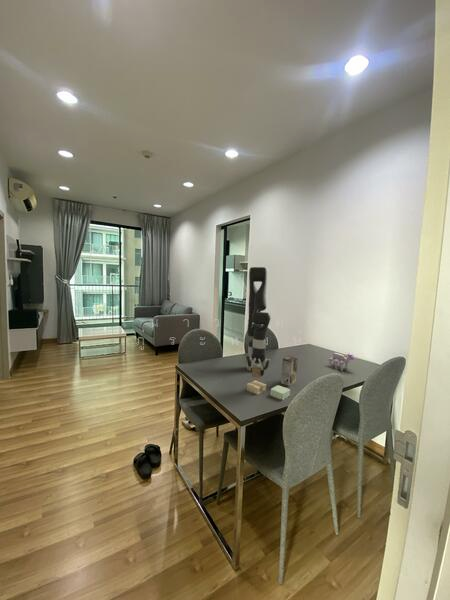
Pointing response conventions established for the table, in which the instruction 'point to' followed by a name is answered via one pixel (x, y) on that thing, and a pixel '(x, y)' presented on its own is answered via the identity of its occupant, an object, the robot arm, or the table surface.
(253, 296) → the robot arm
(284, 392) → the sage base block
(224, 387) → the table surface
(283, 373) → the coffee box
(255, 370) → the walnut cube
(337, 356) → the toy sheep
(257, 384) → the oak base block
